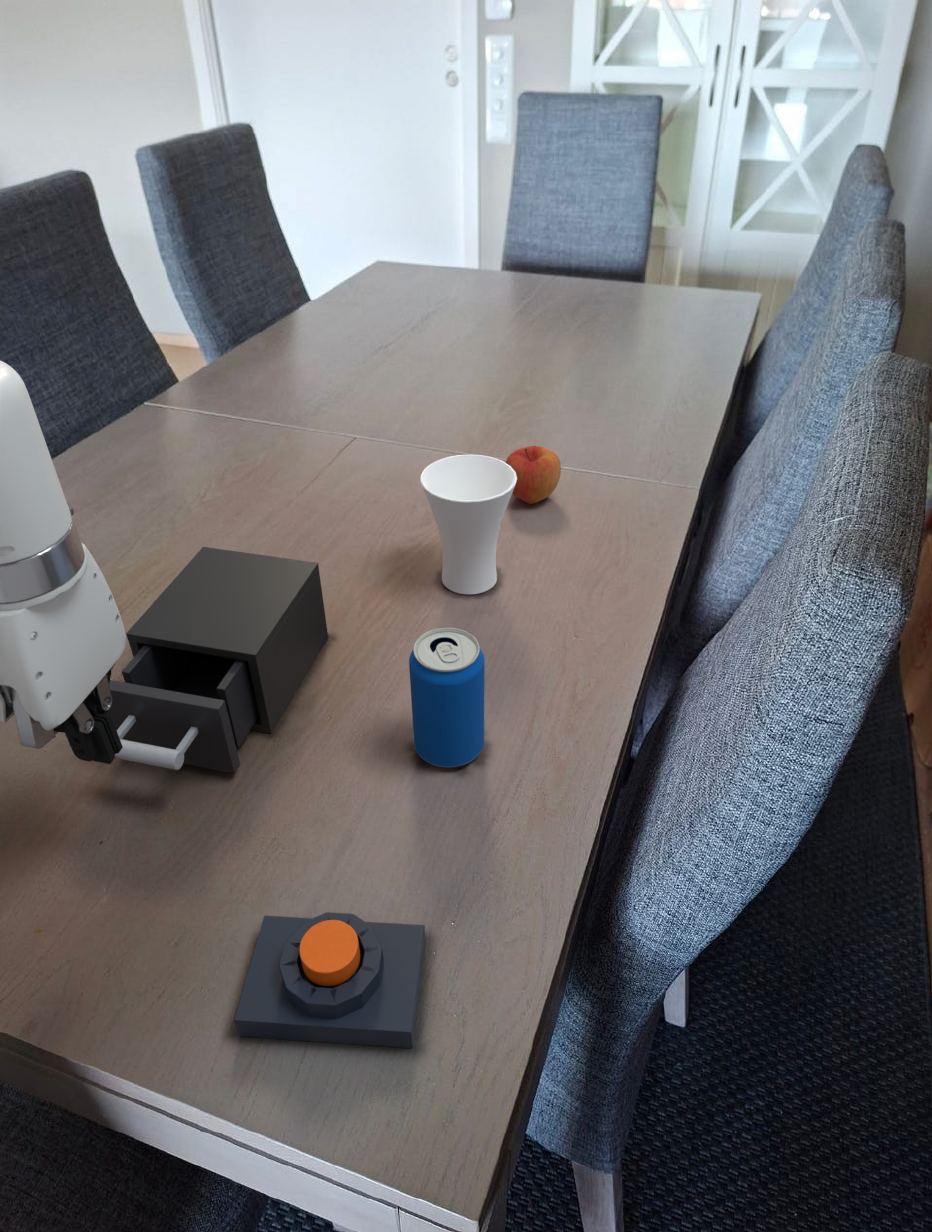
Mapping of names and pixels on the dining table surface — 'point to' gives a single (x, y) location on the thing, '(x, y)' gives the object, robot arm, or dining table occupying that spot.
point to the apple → (534, 472)
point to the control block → (344, 1013)
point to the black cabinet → (244, 620)
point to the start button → (330, 952)
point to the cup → (468, 516)
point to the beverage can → (447, 697)
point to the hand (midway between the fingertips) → (99, 753)
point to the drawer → (183, 709)
